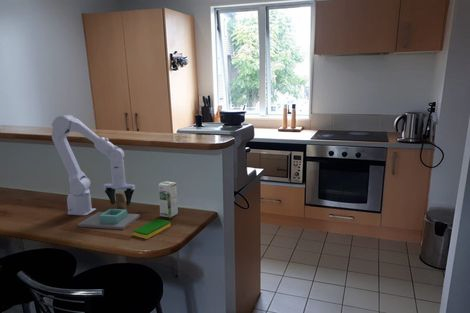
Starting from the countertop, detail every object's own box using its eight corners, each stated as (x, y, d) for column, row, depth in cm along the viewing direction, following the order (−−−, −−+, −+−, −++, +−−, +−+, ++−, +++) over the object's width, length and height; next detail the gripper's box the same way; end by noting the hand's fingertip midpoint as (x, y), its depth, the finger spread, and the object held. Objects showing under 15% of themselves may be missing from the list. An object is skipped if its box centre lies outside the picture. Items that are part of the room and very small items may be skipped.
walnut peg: (115, 211, 156) (113, 194, 154) (119, 208, 160) (118, 192, 158) (123, 212, 155) (121, 195, 154) (127, 209, 159) (126, 192, 157)
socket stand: (78, 226, 140) (77, 217, 139) (98, 214, 153) (97, 205, 153) (123, 229, 136) (122, 219, 135) (139, 216, 149) (138, 207, 149)
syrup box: (159, 216, 150) (157, 183, 147) (168, 211, 155) (166, 180, 152) (170, 218, 147) (168, 185, 144) (178, 213, 152) (176, 181, 149)
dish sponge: (132, 236, 130) (132, 230, 130) (157, 223, 142) (157, 218, 142) (146, 240, 127) (146, 234, 126) (171, 226, 139) (170, 221, 138)
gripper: (98, 177, 152) (101, 206, 155) (128, 178, 149) (131, 207, 152) (107, 173, 159) (110, 201, 161) (136, 174, 156) (138, 202, 158)
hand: (120, 204), depth 157 cm, fingers open, 7 cm apart
